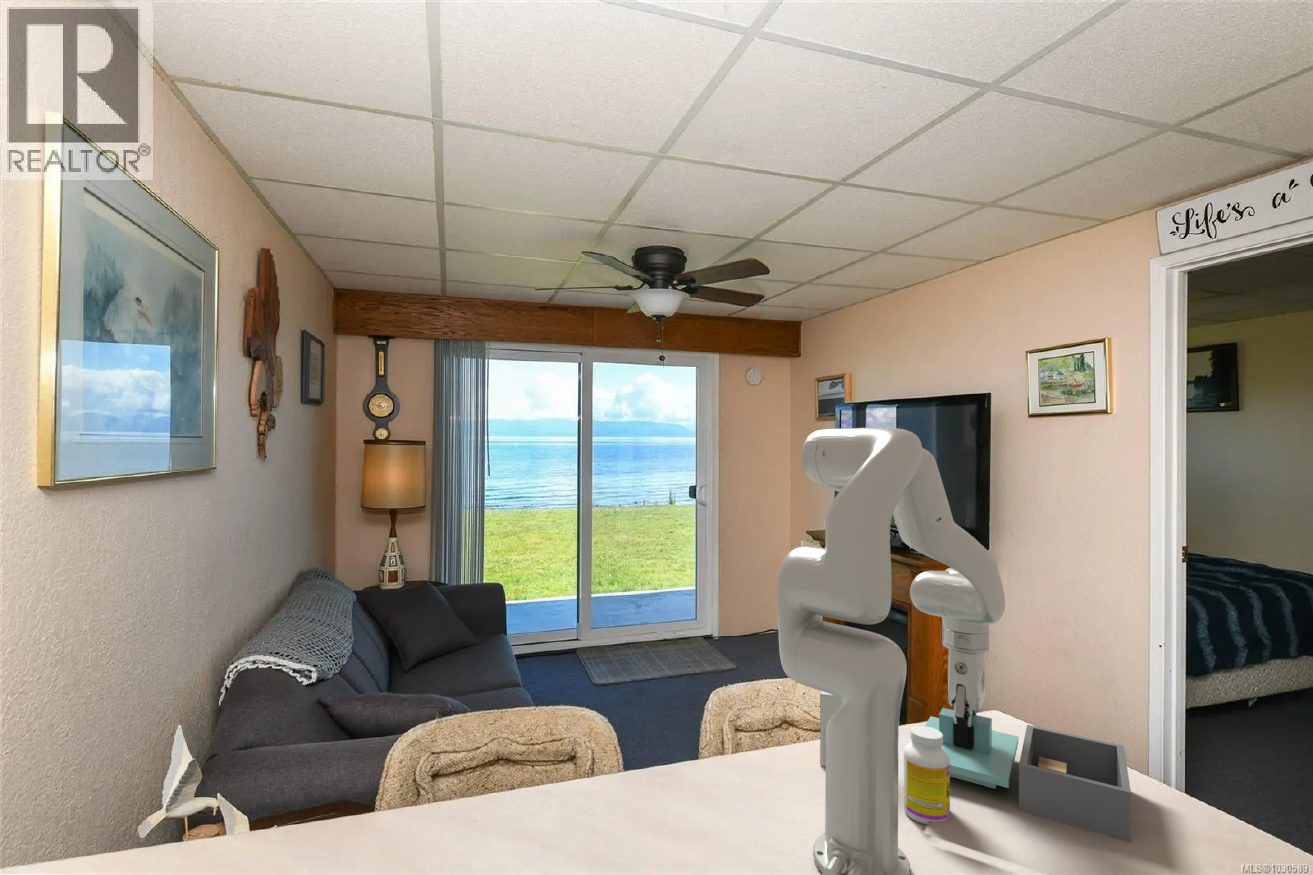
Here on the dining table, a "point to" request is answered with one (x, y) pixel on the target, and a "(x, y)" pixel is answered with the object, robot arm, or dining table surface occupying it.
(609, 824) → the dining table surface
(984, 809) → the dining table surface
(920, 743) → the supplement bottle
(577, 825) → the dining table surface
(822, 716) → the small box
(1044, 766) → the pine block
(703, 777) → the dining table surface
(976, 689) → the robot arm
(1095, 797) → the tub
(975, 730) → the lid
